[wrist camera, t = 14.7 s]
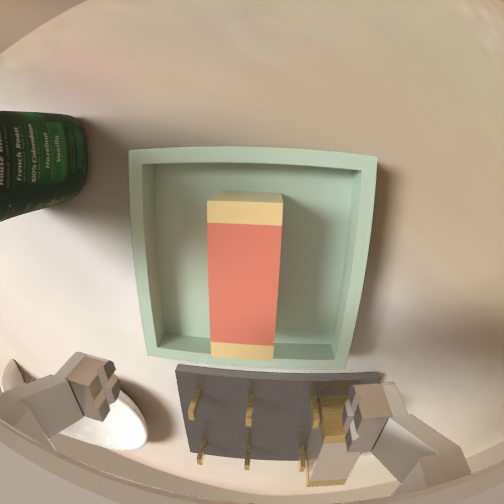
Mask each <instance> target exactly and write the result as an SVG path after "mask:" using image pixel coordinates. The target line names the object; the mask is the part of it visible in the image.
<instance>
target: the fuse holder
mask: <svg viewBox="0 0 504 504" xmlns="http://www.w3.org/2000/svg"><path fill="white" fill-rule="evenodd" d="M175 373H176V379H177V385H178V391H179V397H180V402H181V408H182V413H183V418H184V424H185V429H186V433H187V438H188V443H189V447H190V452H193V453H198V456H197V463H198V464H199V465H202V464H203V460H204V456H205V454H207V455H214V456H223V457H232V458H243V459H245V470H249V467H250V459H258V460H288V461H299V472H302V471H304V469H305V467H306V486H307V487H314V486H331V485H343V484H345V482H346V480H347V477H348V476H349V474H350V472H351V470H352V469H353V467H354V465H355V463H356V461H357V459H358V458H359V456H360V454H361V452H349V453H347V447H346V441H345V436H346V434H347V431H346V430H345V429H344V428H343V423H342V413H343V407H344V404H345V402H346V401H347V400H349V396H348V391H349V388H350V386H351V385H359V384H377V383H378V382H379V380H380V377H379V375H378V373H377V372H367V373H338V374H300V373H270V372H252V371H238V370H226V369H216V368H206V367H197V366H189V365H181V364H178V365H177V368H176V370H175Z"/></svg>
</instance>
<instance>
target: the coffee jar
mask: <svg viewBox="0 0 504 504" xmlns="http://www.w3.org/2000/svg"><path fill="white" fill-rule="evenodd" d="M86 171H87V149H86V141H85V136H84V132H83V129H82V126H81V124H80V123H79V122H78V120H77V119H76V118H74V117H72V116H69V115H63V114H53V113H39V112H16V111H0V222H1V221H4V220H6V219H9V218H12V217H15V216H18V215H22V214H25V213H29V212H32V211H36V210H40V209H43V208H46V207H49V206H53V205H56V204H59V203H62V202H65V201H68V200H70V199H72V198H73V197H75V196H76V195H77V194H78V193H79V192H80V190H81V188H82V186H83V184H84V182H85V178H86Z"/></svg>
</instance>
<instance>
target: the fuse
mask: <svg viewBox="0 0 504 504" xmlns="http://www.w3.org/2000/svg"><path fill="white" fill-rule="evenodd" d="M282 216H283V200H282V196H281V193H273V192H248V191H222V192H220V193H218V194H217V195H215V196H214V197H212V198H210V199H209V200H207V253H208V293H209V320H210V342H211V356H214V357H225V358H237V359H251V360H268V361H273V350H274V338H275V325H276V312H277V298H278V284H279V268H280V252H281V234H282Z"/></svg>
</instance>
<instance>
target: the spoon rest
mask: <svg viewBox="0 0 504 504" xmlns="http://www.w3.org/2000/svg"><path fill="white" fill-rule="evenodd" d="M23 384H24V379H23V377H22V374H21V372H20V371H19V368H18V366H17V364H16V362H15V361H14V360H13V359H10V360H9V361H8V362H7V364H6V365H5V367H4V369H3V371H2V375H1V389H2V391H3V392H4V391H7V390H10V389H13V388H15V387H18V386H21V385H23ZM109 406H110V412H109V413H108V415H107V417H106V418H105V420H104V421H103V422H101V421H97V420H94V419H91V418H88V417H85V416H84V418H82V419H81V420H79V421H77V422H76V423H74V424H72V425H71V426H69V427H67V428H66V429H64V430H62V431H61V432H59V433H61V434H64V435H66V436H69V437H73V438H76V439H79V440H82V441H85V442H88V443H91V444H95V445H99V446H101V447H105V448H110V449H114V450H122V451H130V450H136V449H139V448H141V447H143V446H144V445H145V444H146V442H147V440H148V428H147V424H146V422H145V419H144V417H143V415H142V413H141V412H140V410H139V408H138V407H137V406H136V404H135V403H134V402H133V401H132V400H131V399H130V398H129V397H128V396H127V395H126V394H125V393H124V392H122V391H121V390H120V392H119V397H118V398H117V400H116V402H115V403H113V404H111V405H109Z"/></svg>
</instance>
